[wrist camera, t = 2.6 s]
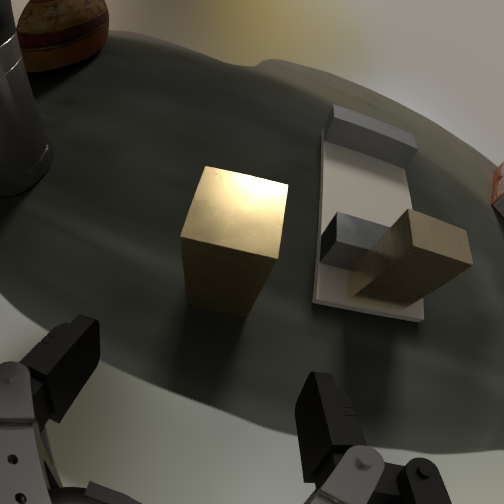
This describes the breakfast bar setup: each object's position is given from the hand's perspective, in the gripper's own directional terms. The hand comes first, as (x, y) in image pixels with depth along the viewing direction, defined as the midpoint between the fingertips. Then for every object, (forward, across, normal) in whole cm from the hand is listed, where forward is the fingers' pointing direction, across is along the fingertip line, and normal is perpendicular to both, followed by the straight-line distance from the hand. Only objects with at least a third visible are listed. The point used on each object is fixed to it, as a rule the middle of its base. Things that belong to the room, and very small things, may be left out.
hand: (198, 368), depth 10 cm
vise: (+24, -14, -6) cm, 28 cm away
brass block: (+15, 0, +3) cm, 16 cm away
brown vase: (+42, +42, -23) cm, 63 cm away
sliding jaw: (+17, -14, 0) cm, 22 cm away
